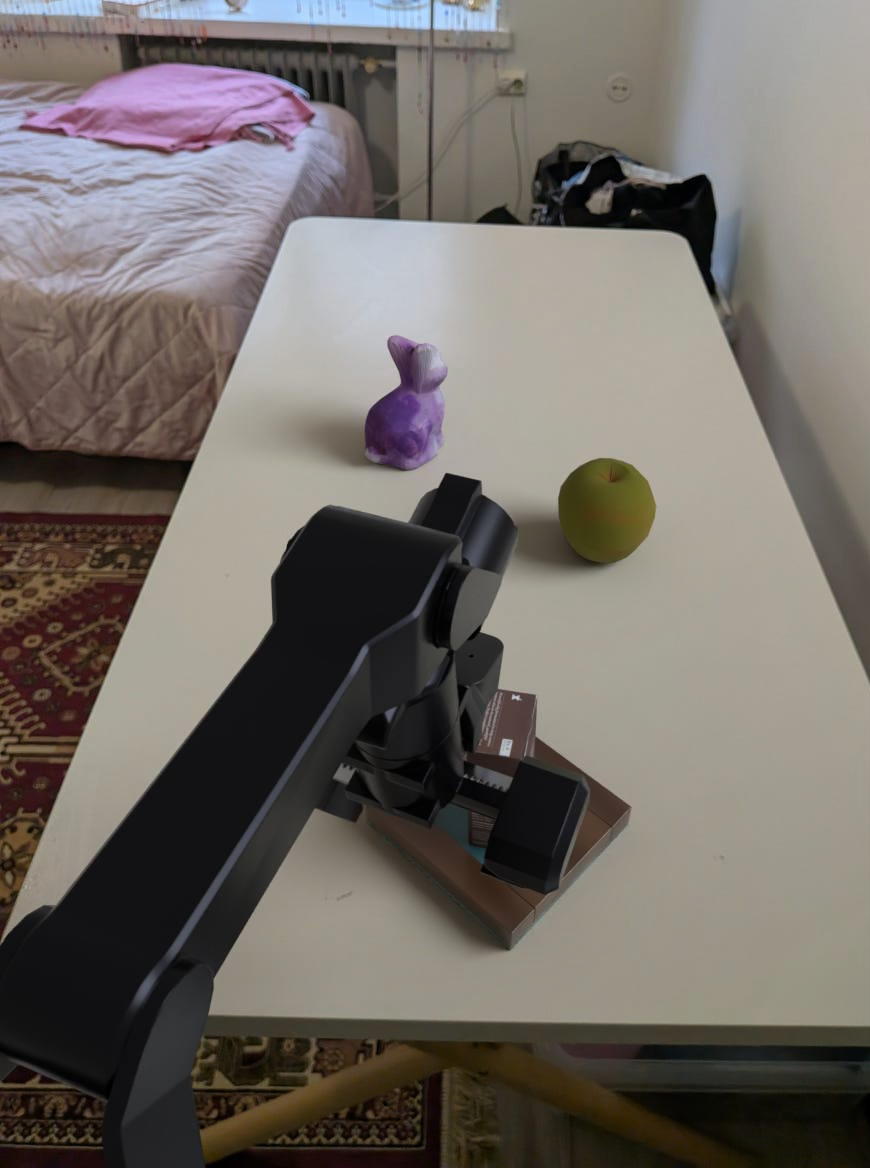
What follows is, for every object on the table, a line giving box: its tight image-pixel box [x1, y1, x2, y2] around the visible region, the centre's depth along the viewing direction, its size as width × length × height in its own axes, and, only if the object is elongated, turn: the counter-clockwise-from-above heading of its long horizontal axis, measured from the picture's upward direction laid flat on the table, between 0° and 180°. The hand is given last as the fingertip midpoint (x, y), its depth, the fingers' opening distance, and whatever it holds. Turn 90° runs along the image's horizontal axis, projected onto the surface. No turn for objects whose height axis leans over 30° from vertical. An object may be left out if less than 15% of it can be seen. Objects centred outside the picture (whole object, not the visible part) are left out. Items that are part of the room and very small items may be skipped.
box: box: [467, 688, 538, 848], centre depth 71 cm, size 6×4×12 cm
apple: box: [557, 457, 657, 564], centre depth 97 cm, size 10×10×11 cm
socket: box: [365, 736, 632, 951], centre depth 74 cm, size 14×15×2 cm
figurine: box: [364, 334, 449, 471], centre depth 109 cm, size 9×10×15 cm
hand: (423, 841), depth 59 cm, fingers open, 9 cm apart
